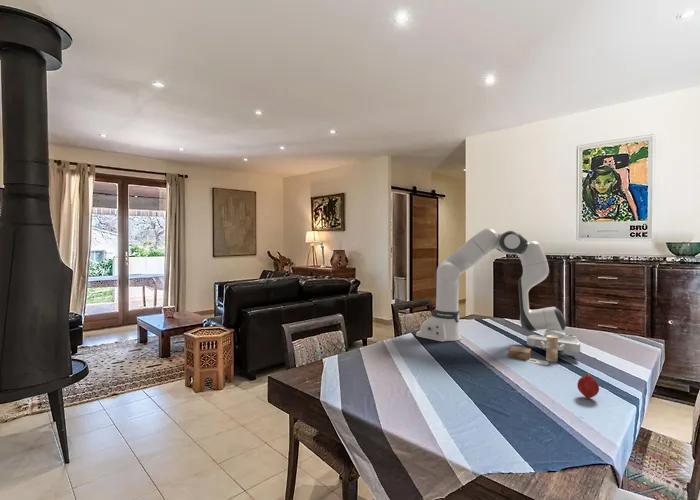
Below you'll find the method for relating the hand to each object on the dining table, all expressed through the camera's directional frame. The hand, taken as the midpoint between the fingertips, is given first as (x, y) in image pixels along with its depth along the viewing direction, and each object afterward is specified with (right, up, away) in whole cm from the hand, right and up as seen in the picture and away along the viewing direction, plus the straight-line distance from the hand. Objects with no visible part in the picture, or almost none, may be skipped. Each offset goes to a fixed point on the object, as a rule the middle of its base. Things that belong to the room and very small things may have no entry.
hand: (552, 347), depth 155 cm
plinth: (-11, -5, +5) cm, 13 cm away
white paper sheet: (-7, -5, -2) cm, 9 cm away
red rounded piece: (-9, -7, -37) cm, 38 cm away
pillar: (0, -5, +1) cm, 6 cm away
